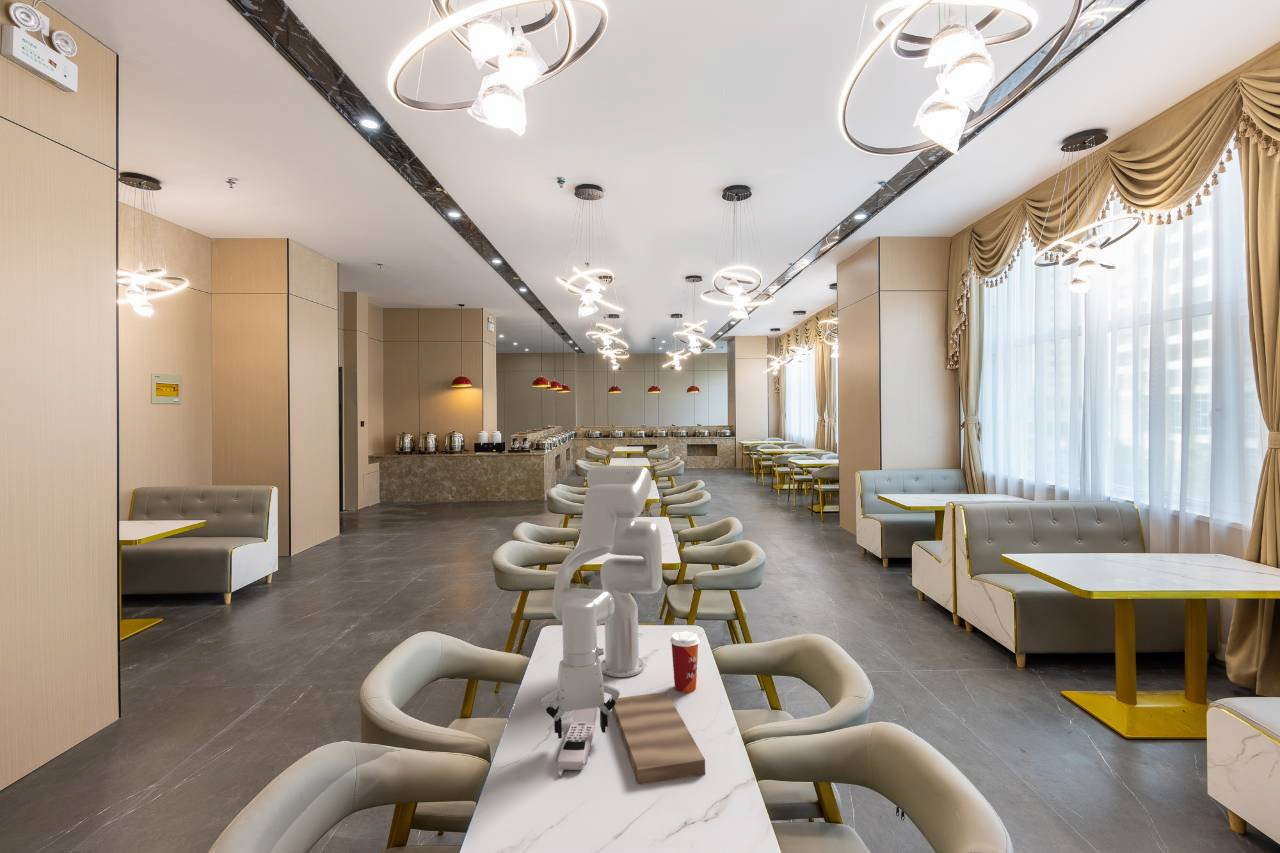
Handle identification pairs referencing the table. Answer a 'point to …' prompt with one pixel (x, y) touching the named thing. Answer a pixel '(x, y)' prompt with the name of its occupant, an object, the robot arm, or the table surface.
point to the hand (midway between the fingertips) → (581, 732)
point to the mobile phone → (577, 741)
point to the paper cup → (685, 660)
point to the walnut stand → (656, 739)
